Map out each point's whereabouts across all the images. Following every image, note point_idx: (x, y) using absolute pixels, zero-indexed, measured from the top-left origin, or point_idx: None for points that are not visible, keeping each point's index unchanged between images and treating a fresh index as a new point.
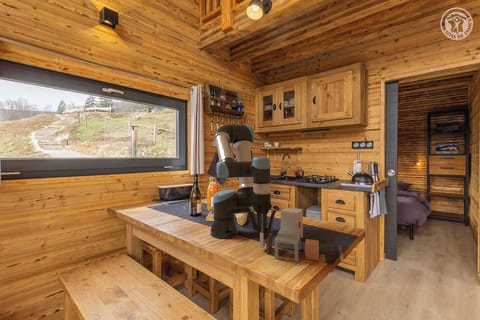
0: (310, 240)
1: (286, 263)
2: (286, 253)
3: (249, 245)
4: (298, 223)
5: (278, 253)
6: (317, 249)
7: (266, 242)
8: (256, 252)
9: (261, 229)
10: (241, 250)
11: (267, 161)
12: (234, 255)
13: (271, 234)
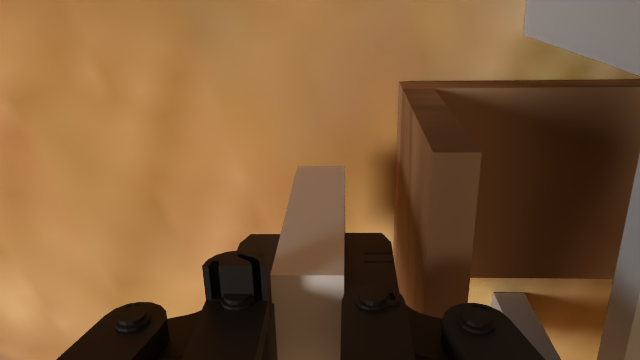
0: None
1: (605, 314)
2: (627, 194)
3: (89, 10)
4: None
5: (529, 222)
6: None
7: None
8: (253, 180)
9: (267, 292)
10: (73, 183)
11: None
12: (70, 306)
13: (474, 217)
